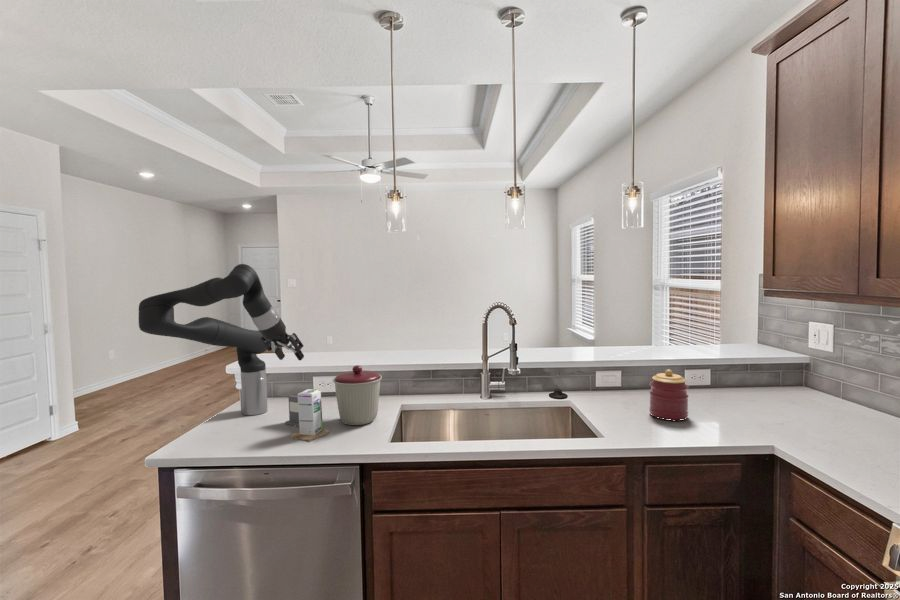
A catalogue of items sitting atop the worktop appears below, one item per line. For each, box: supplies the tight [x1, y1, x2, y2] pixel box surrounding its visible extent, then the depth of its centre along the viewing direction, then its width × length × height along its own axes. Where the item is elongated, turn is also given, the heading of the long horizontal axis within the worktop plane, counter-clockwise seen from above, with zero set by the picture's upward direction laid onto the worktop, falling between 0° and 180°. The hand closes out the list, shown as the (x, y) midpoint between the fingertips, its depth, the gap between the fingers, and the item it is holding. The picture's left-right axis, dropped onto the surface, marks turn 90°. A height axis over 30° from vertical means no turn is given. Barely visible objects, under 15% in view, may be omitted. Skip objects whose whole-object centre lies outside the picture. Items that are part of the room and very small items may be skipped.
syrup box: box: [297, 388, 324, 436], centre depth 150 cm, size 6×6×14 cm
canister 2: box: [648, 368, 690, 420], centre depth 161 cm, size 13×13×18 cm
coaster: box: [289, 429, 330, 442], centre depth 149 cm, size 9×9×1 cm
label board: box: [284, 394, 299, 427], centre depth 159 cm, size 13×3×10 cm, turn 64°
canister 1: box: [332, 365, 383, 426], centre depth 162 cm, size 18×18×21 cm
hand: (292, 358), depth 148 cm, fingers open, 8 cm apart
